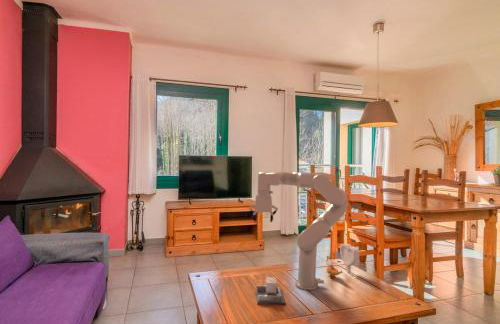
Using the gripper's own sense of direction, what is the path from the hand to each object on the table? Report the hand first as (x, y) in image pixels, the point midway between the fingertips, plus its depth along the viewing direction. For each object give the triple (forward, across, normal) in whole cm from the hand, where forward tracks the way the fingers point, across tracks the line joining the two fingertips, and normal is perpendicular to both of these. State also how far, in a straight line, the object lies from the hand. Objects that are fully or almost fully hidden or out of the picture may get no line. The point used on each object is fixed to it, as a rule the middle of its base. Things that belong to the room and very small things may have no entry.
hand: (262, 221), depth 172 cm
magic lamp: (+34, -44, -1) cm, 55 cm away
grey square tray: (+33, -3, +25) cm, 42 cm away
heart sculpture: (+34, -56, -8) cm, 65 cm away
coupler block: (+32, -3, +25) cm, 41 cm away
